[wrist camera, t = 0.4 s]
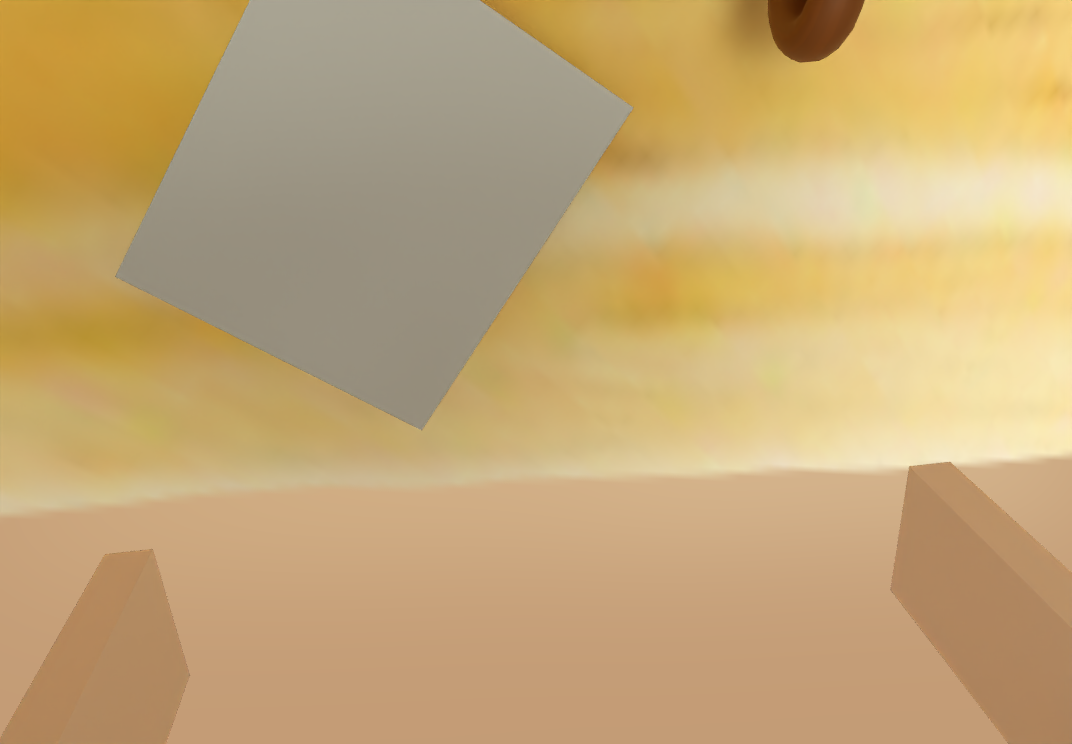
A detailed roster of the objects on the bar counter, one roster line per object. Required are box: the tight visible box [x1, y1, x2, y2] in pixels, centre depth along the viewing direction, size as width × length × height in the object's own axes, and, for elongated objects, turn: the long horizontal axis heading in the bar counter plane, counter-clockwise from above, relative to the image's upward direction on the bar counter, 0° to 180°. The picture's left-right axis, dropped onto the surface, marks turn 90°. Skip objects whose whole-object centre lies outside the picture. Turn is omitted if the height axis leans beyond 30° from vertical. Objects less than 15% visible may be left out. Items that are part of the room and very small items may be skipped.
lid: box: [115, 0, 633, 430], centre depth 27 cm, size 11×13×2 cm
